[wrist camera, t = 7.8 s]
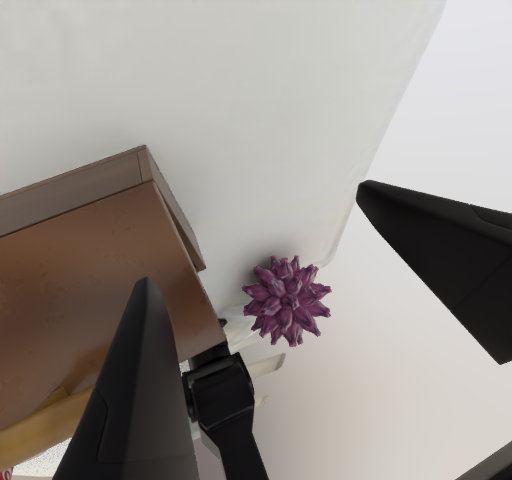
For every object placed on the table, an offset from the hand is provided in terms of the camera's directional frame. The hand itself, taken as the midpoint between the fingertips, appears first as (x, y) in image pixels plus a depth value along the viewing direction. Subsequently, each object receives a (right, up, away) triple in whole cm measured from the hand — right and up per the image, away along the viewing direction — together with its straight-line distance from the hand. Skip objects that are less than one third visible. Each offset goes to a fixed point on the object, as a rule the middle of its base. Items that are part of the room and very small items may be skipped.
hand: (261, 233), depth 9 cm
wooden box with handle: (-11, -5, +5) cm, 13 cm away
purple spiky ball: (+1, -4, +26) cm, 26 cm away
